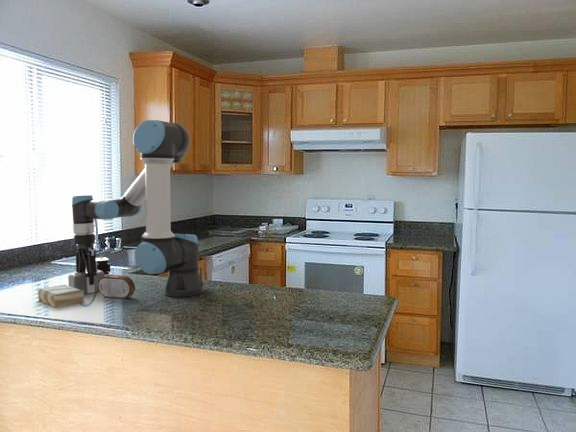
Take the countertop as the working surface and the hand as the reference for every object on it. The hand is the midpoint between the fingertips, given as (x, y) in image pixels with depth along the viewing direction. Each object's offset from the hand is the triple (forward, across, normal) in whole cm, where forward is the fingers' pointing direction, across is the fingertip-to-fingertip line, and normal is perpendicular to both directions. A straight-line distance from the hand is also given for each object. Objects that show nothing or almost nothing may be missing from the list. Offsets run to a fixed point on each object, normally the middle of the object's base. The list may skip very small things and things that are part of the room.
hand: (87, 291), depth 192 cm
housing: (0, 0, 0) cm, 0 cm away
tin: (+1, -18, -3) cm, 18 cm away
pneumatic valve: (+1, +9, -11) cm, 14 cm away
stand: (0, -7, +13) cm, 15 cm away
